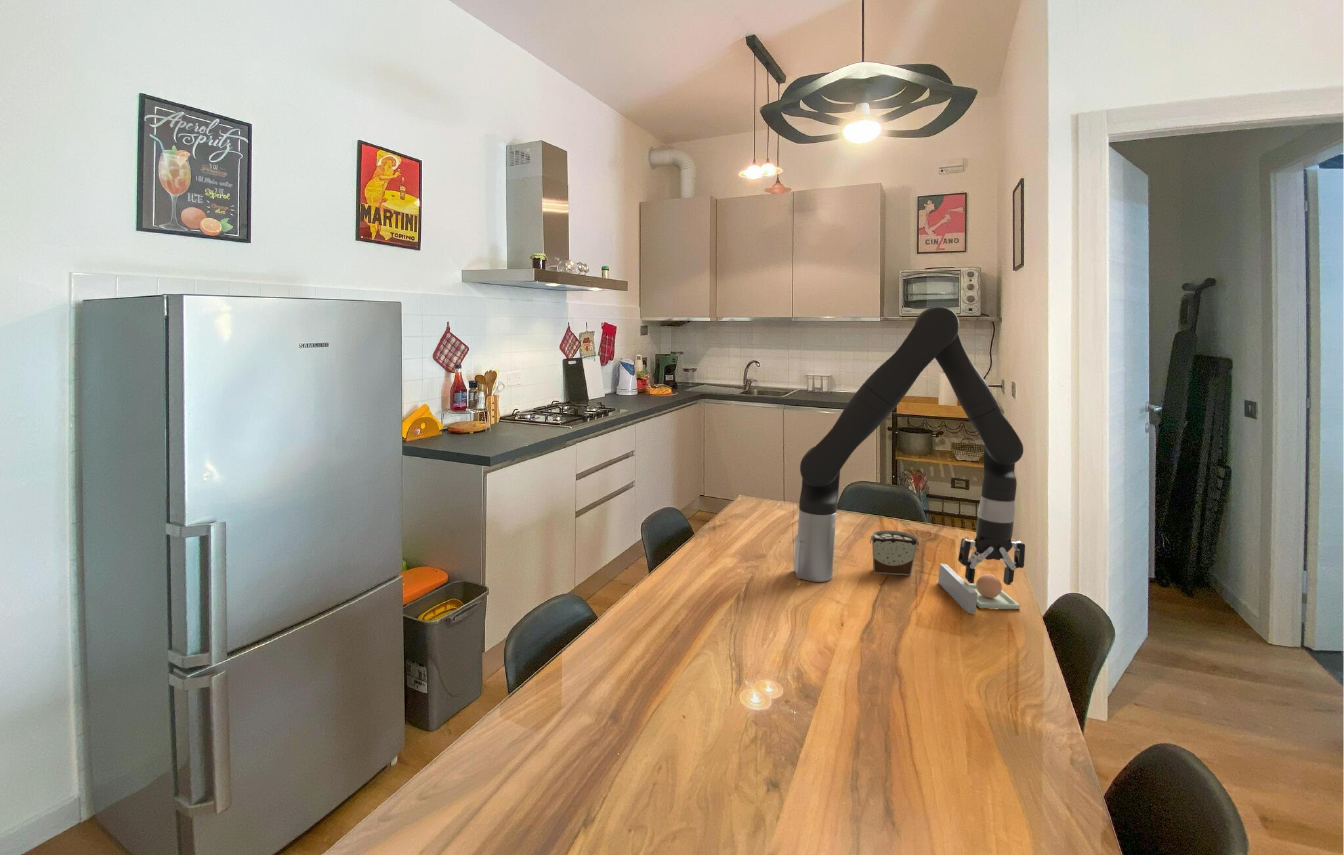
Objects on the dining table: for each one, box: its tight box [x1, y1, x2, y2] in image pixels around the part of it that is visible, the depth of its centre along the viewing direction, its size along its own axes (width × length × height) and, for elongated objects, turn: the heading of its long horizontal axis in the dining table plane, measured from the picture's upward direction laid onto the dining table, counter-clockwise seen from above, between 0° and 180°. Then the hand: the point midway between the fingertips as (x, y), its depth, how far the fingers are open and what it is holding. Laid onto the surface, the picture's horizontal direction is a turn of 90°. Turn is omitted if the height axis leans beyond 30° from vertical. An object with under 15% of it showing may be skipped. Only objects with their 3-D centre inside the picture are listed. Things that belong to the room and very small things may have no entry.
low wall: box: [937, 563, 977, 614], centre depth 155 cm, size 2×18×5 cm, turn 179°
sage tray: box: [967, 583, 1021, 610], centre depth 155 cm, size 9×12×1 cm
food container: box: [869, 529, 920, 576], centre depth 171 cm, size 12×6×10 cm, turn 84°
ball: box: [975, 573, 1003, 598], centre depth 154 cm, size 6×6×6 cm
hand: (988, 583), depth 154 cm, fingers open, 8 cm apart
